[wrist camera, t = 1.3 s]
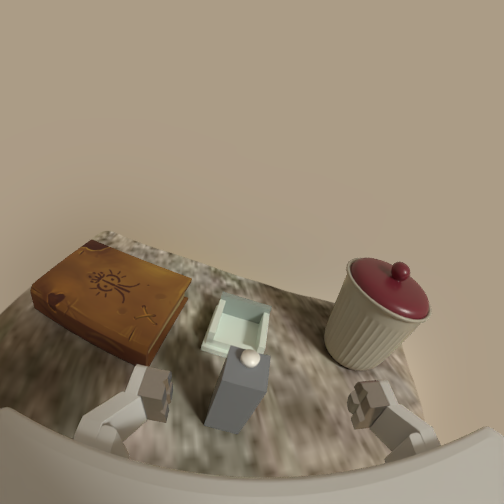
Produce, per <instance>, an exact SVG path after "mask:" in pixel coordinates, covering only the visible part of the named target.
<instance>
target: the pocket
mask: <svg viewBox="0 0 504 504" xmlns="http://www.w3.org/2000/svg"><path fill="white" fill-rule="evenodd" d="M271 307H272V306H269V305H265V304H262V303H259V302H255V301H252V300H249V299H246V298H242V297H239V296H236V295H233V294H230V293H226V292H223V293H222V296H221V299H220V302H219V305H216V308H215V311H214V313H213V316H212V319H211V321H210V324H209V327H208V330H207V332H206V335H205V338H204V340H203V343H202V346H201V350H203V351H206V352H209V353H212V354H215V355H218V356H222V357H225V358H226V357H227V354H228V351H229V348H230V346H231V345H232V346H236V347H239V348H242V349H252V350H255V351H256V352H257V353H260V354H263V353H264V350H265V347H266V339H267V330H268V322H269V314H270V311H271Z"/></svg>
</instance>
